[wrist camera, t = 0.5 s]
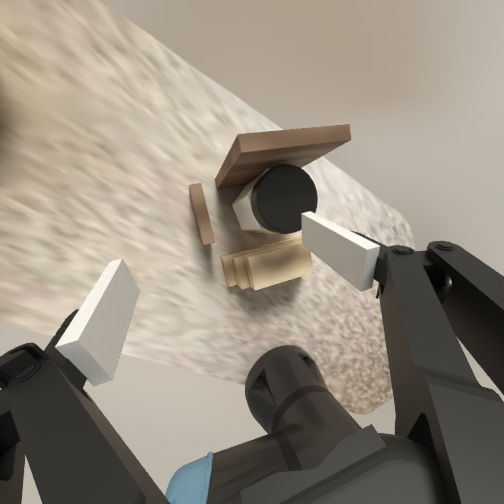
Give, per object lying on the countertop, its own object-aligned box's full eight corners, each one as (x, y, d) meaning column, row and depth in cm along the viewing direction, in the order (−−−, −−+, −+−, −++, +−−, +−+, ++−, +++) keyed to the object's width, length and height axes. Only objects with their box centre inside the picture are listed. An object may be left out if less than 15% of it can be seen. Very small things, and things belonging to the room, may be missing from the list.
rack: (290, 222, 37) (360, 216, 22) (201, 242, 33) (212, 252, 18) (281, 169, 36) (349, 124, 21) (186, 183, 31) (184, 139, 16)
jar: (259, 243, 36) (291, 249, 25) (222, 214, 34) (240, 206, 22) (287, 204, 37) (331, 193, 26) (254, 173, 34) (286, 145, 23)
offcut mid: (304, 265, 37) (312, 267, 35) (237, 285, 34) (241, 289, 31) (300, 238, 36) (308, 239, 34) (231, 256, 33) (234, 258, 31)
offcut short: (304, 269, 34) (313, 272, 32) (250, 286, 32) (255, 290, 29) (300, 241, 34) (308, 241, 31) (243, 255, 31) (248, 257, 29)
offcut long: (304, 260, 40) (311, 262, 38) (226, 283, 36) (229, 286, 33) (300, 235, 39) (307, 235, 37) (220, 256, 35) (222, 258, 32)
